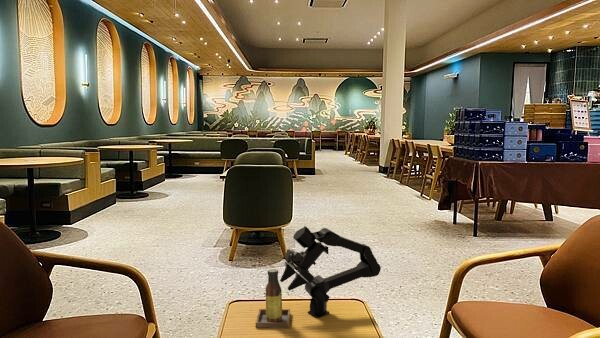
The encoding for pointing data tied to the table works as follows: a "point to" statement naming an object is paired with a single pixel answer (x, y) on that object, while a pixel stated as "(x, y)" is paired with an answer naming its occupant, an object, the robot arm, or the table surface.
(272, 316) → the sauce bottle
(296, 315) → the table surface
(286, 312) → the walnut frame
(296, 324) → the table surface
